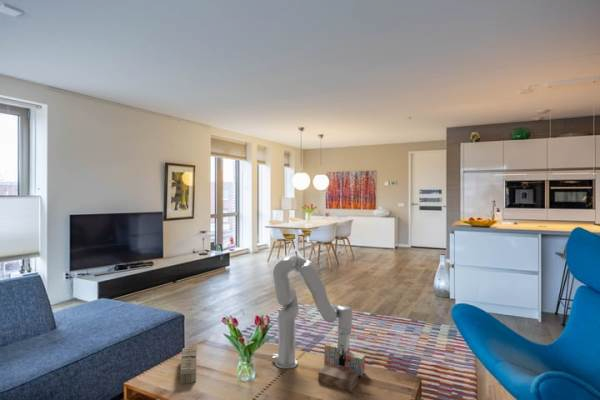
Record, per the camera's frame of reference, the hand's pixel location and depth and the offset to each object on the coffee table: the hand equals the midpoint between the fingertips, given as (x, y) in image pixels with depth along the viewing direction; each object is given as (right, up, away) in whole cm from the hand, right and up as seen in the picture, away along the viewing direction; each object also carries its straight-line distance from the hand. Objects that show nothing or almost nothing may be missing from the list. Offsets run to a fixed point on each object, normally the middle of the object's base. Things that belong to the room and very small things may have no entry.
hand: (343, 362), depth 197 cm
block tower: (-83, -3, -4) cm, 83 cm away
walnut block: (-4, -5, -13) cm, 15 cm away
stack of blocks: (0, -4, 0) cm, 4 cm away
